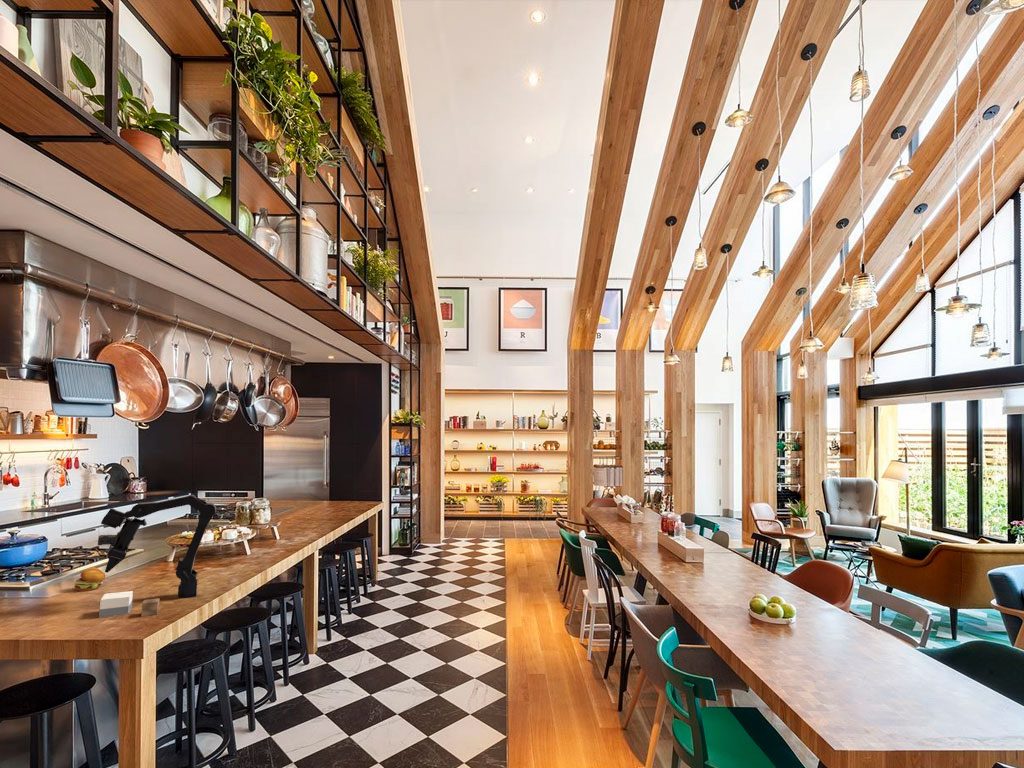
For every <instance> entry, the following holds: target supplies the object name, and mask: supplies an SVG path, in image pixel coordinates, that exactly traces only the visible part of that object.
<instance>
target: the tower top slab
mask: <svg viewBox="0 0 1024 768" xmlns="http://www.w3.org/2000/svg"><path fill="white" fill-rule="evenodd" d="M133 594H134V591H133V590H130V591H120V592H111V593H110V592H109V593H108V592H107V593H104V594H103V596H102V597H101V599H100V600H99V603H100V605H99V610H100V609H108V608H117V607H126V606H129V605H130V603H131V601H132V602H133Z"/></svg>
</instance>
